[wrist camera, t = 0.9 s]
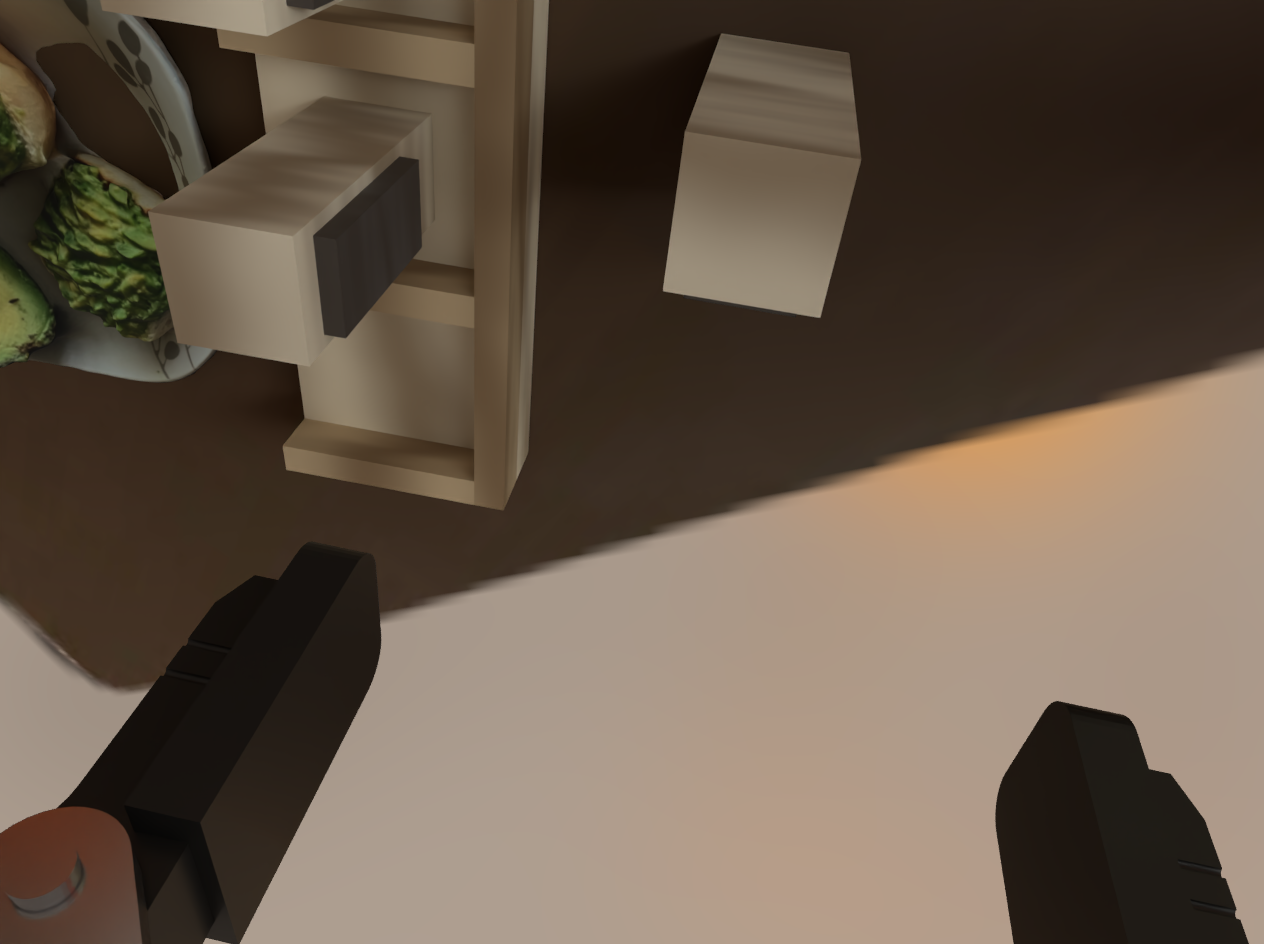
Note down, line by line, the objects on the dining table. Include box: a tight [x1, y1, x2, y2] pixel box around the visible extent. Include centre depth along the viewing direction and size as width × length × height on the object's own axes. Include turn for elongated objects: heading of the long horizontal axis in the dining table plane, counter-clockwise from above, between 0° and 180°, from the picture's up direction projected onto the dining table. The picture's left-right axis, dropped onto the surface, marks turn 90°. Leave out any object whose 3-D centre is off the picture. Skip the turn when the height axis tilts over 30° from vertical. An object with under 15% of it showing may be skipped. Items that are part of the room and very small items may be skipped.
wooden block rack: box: [100, 0, 549, 510], centre depth 28 cm, size 9×25×12 cm, turn 174°
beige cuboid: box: [663, 33, 861, 318], centre depth 26 cm, size 5×4×10 cm
